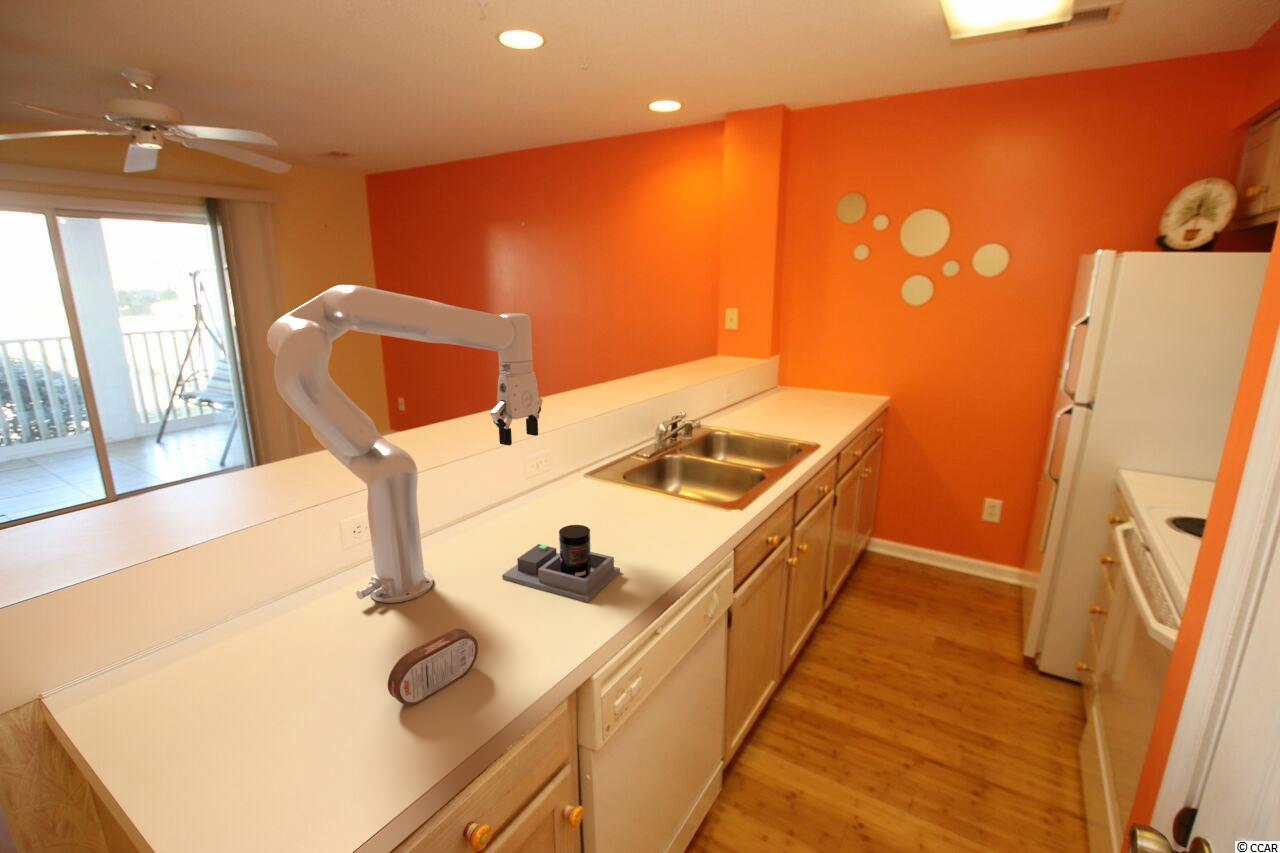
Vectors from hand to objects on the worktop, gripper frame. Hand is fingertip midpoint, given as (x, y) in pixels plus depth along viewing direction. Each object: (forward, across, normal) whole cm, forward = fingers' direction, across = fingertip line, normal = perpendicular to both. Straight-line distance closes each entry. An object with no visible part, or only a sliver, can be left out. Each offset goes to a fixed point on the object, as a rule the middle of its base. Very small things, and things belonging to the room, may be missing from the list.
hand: (519, 439), depth 138 cm
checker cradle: (+27, -8, -17) cm, 33 cm away
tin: (+28, -48, -21) cm, 59 cm away
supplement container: (+26, -8, -21) cm, 35 cm away
